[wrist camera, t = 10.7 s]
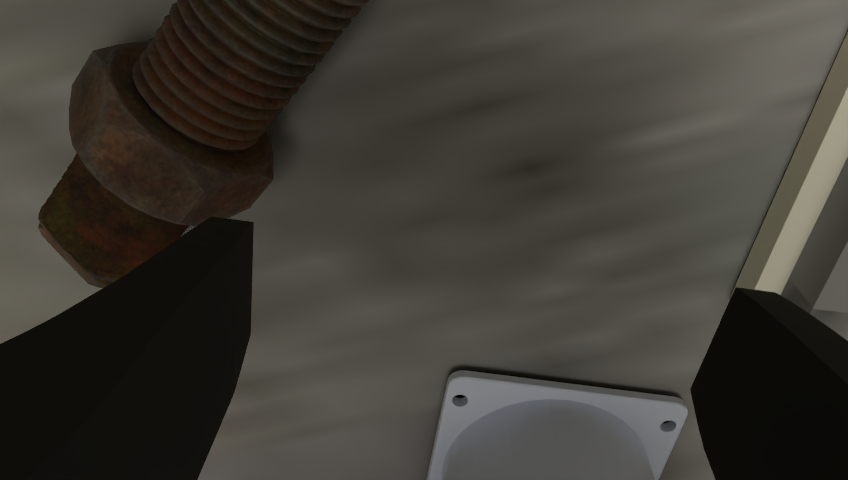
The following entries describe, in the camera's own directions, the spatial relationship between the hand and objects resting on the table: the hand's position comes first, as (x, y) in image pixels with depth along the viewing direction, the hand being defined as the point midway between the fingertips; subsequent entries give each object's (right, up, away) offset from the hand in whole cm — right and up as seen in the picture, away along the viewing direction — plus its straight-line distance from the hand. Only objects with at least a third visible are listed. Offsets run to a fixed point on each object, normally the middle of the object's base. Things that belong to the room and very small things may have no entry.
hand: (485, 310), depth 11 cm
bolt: (-5, +7, +8) cm, 11 cm away
